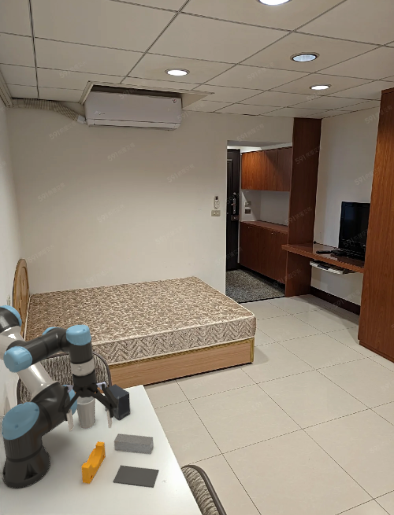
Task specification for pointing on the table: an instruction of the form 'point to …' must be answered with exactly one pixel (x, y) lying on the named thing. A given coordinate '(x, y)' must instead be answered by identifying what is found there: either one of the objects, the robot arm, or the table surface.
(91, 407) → the cup
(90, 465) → the pipe clamp
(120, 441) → the grey rectangular bar
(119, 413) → the small box
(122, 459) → the table surface
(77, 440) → the table surface
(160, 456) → the table surface
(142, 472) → the pad
